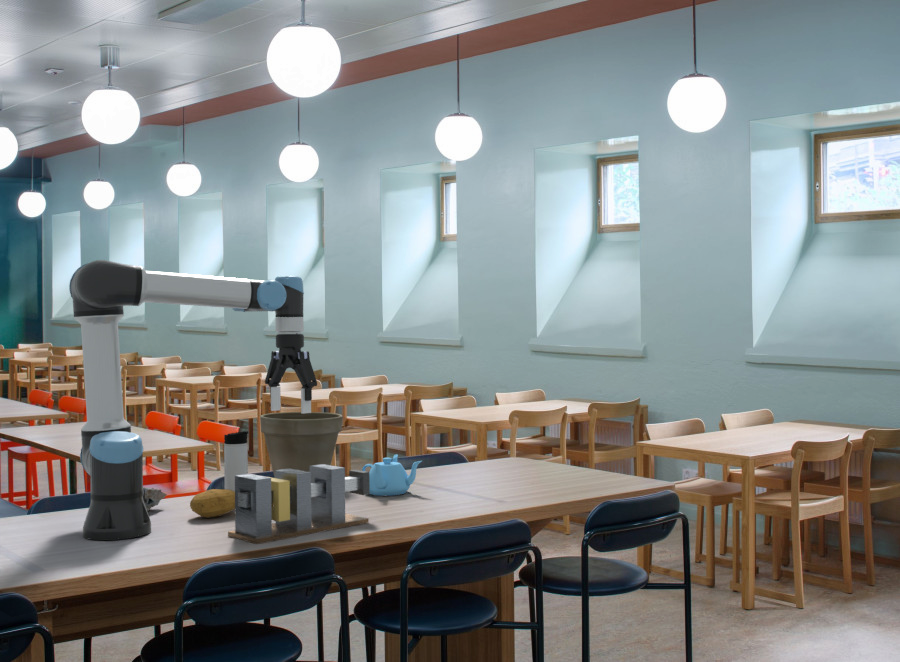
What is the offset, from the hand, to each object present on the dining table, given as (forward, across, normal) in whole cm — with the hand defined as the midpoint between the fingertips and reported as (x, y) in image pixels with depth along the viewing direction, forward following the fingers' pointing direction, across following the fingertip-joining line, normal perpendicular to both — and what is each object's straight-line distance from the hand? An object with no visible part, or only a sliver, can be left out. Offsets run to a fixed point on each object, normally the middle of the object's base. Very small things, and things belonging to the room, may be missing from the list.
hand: (290, 411), depth 258 cm
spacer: (+22, -26, +24) cm, 42 cm away
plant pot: (+26, +24, -22) cm, 42 cm away
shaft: (+19, -26, +15) cm, 36 cm away
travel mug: (+26, +14, +8) cm, 30 cm away
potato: (+26, +3, +22) cm, 34 cm away
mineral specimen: (+26, +24, +30) cm, 46 cm away
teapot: (+26, -6, -31) cm, 41 cm away
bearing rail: (+25, -26, +17) cm, 40 cm away
